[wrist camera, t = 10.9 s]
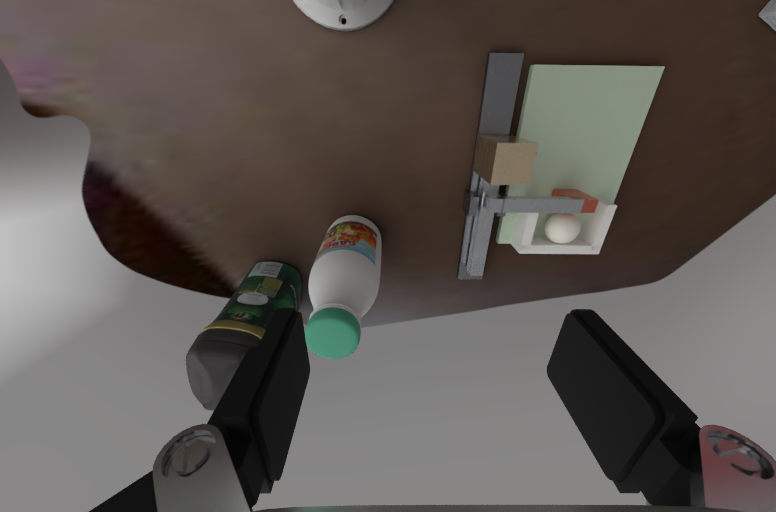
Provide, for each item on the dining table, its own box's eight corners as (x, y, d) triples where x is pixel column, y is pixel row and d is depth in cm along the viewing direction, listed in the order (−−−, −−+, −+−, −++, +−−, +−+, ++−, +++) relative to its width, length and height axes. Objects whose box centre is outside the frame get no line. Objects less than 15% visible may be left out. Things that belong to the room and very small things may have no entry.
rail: (483, 53, 32) (492, 49, 29) (525, 54, 32) (539, 50, 29) (453, 276, 45) (457, 288, 42) (483, 276, 45) (490, 288, 42)
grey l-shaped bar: (477, 135, 35) (497, 143, 28) (593, 136, 35) (637, 144, 29) (458, 268, 43) (470, 297, 37) (551, 269, 43) (579, 298, 37)
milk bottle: (393, 239, 42) (397, 341, 24) (356, 272, 45) (336, 386, 27) (352, 201, 40) (325, 285, 22) (315, 239, 42) (264, 341, 24)
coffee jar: (303, 314, 48) (260, 425, 32) (253, 307, 48) (183, 417, 31) (305, 262, 44) (257, 361, 27) (250, 254, 43) (167, 350, 27)
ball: (557, 236, 36) (541, 247, 39) (590, 236, 36) (571, 247, 39) (552, 206, 37) (536, 219, 41) (584, 206, 37) (565, 220, 41)
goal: (521, 197, 38) (531, 204, 36) (601, 198, 38) (617, 205, 36) (510, 243, 41) (519, 253, 39) (584, 244, 42) (598, 254, 39)
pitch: (530, 65, 32) (534, 64, 32) (657, 67, 33) (665, 66, 32) (495, 240, 42) (497, 243, 41) (593, 241, 42) (597, 244, 42)
